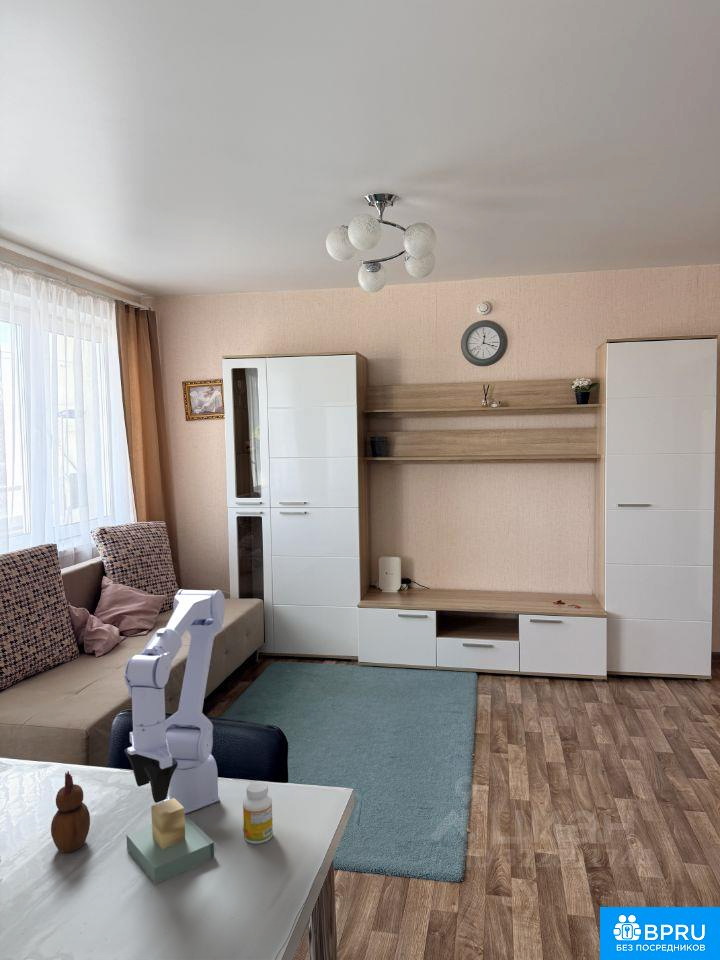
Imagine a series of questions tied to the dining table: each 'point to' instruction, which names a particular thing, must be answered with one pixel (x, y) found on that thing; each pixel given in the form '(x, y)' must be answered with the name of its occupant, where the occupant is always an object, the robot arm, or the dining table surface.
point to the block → (168, 823)
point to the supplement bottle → (257, 813)
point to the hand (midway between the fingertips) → (151, 792)
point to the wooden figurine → (70, 817)
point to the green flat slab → (170, 851)
